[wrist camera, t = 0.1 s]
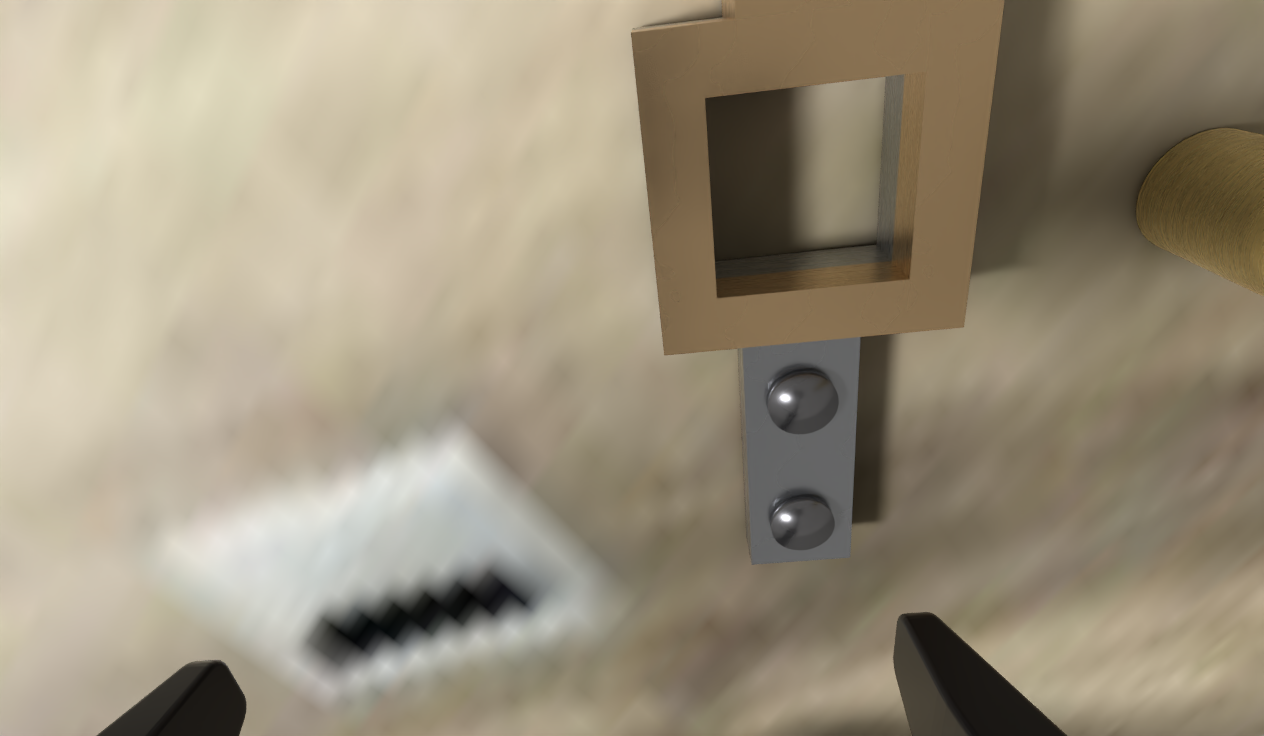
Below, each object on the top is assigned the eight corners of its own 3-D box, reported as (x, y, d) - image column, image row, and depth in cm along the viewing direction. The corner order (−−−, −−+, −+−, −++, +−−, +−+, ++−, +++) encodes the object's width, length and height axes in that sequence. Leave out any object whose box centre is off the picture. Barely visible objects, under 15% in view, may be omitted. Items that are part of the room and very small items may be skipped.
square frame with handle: (903, 524, 26) (936, 591, 23) (685, 541, 27) (690, 608, 24) (980, -310, 15) (1063, -388, 12) (604, -252, 16) (594, -312, 13)
